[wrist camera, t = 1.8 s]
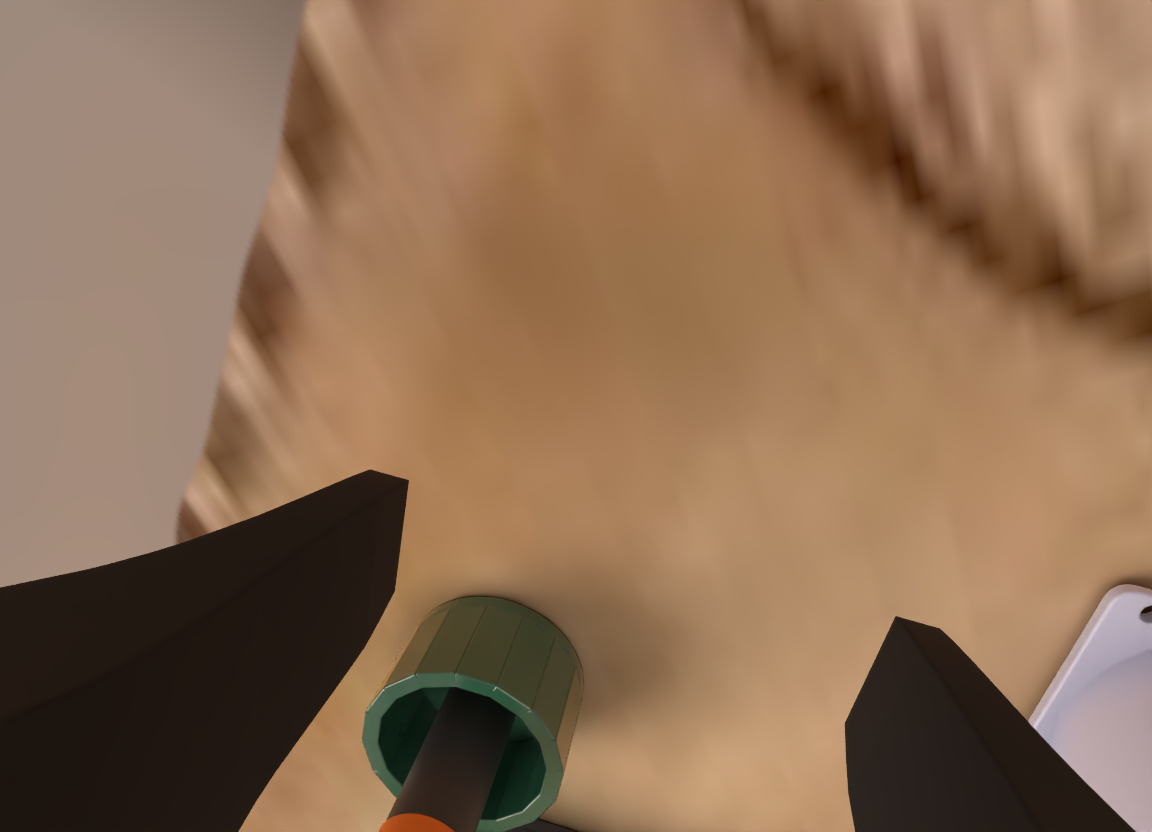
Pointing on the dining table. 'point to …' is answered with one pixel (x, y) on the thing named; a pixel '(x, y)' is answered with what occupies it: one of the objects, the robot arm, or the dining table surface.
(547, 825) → the tray
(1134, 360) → the dining table surface
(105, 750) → the robot arm
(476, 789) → the marker
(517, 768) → the pen pot
